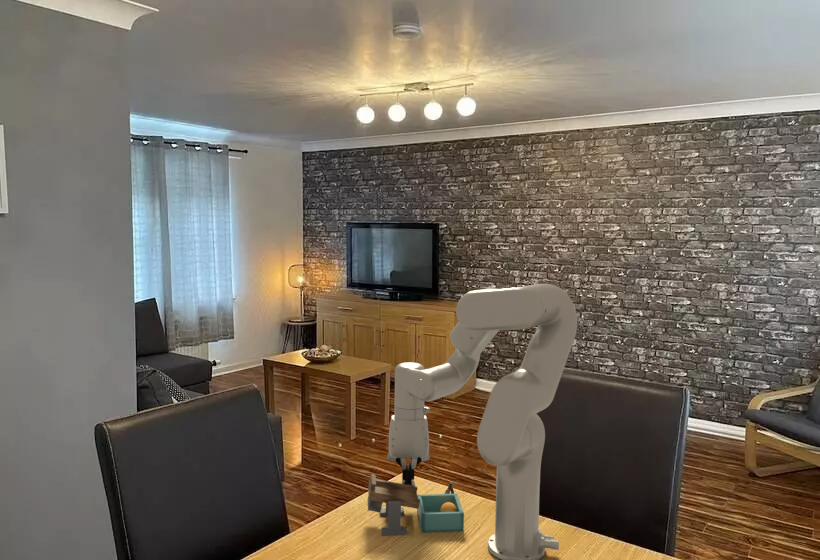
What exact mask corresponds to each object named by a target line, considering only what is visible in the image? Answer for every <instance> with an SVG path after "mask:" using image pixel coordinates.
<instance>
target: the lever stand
mask: <svg viewBox="0 0 820 560" xmlns="http://www.w3.org/2000/svg"><path fill="white" fill-rule="evenodd" d="M404 509H405V508H404V507H402V506H401V501H388V503H385V508H384V507H381V512H379V516H380V517H383V516H385V517H387V527H381V528H380V531H381V532H380V533H381V536H382V537H390V536H392V537H393V536H408V529H407V526H402V524H401V523H402V519H401V518H402V516H405V510H404Z"/></svg>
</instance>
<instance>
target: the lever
mask: <svg viewBox="0 0 820 560" xmlns="http://www.w3.org/2000/svg"><path fill="white" fill-rule="evenodd" d="M367 487H368V489H367V490H368V493H367V494H368V496H367V511H371V512H375V513H380V512H381V508H383V503H385V504H386V503H388V501H401V507H406V508H412V509H416V510H417V509H418V508H419V504H420V499H418V496H417V495H418V486H416V483H415V479H414V480H412V485H410V484H409V482H408V485H405V480H401V483H399V482H394V481H389V480H384V479H378V478H376V473H371V474H370V478H369V481H368V486H367Z"/></svg>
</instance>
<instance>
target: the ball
mask: <svg viewBox="0 0 820 560" xmlns="http://www.w3.org/2000/svg"><path fill="white" fill-rule="evenodd" d="M441 512H457V508H456V506H455V505H454V504H453V503H451V502H446V503H444V504H443V505H442V507H441Z"/></svg>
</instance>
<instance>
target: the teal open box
mask: <svg viewBox="0 0 820 560" xmlns="http://www.w3.org/2000/svg"><path fill="white" fill-rule="evenodd" d="M417 496H418V499H420V504H419V508H418V509H416V512H417V513H416V514H417V518H418V523H419V528H420V532H421V534H426V533H451V532H452V533H454V532H456V533H457V532H459V533H460V532H464V530H465V529H464V528H465V527H464V523H465V521H464V519H465V513H464V509H463V507H462V504H461V501H460V499H459V496H458V493H454V494H451V493H450V494H444V493H440V494H439V493H438V494H437V493H434V494H431V493H430V494H428V493H427V494H417ZM446 502H451V503H453V504H454V505H455V506H456V508H457V512H441V507H442V505H443V504H444V503H446Z"/></svg>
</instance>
